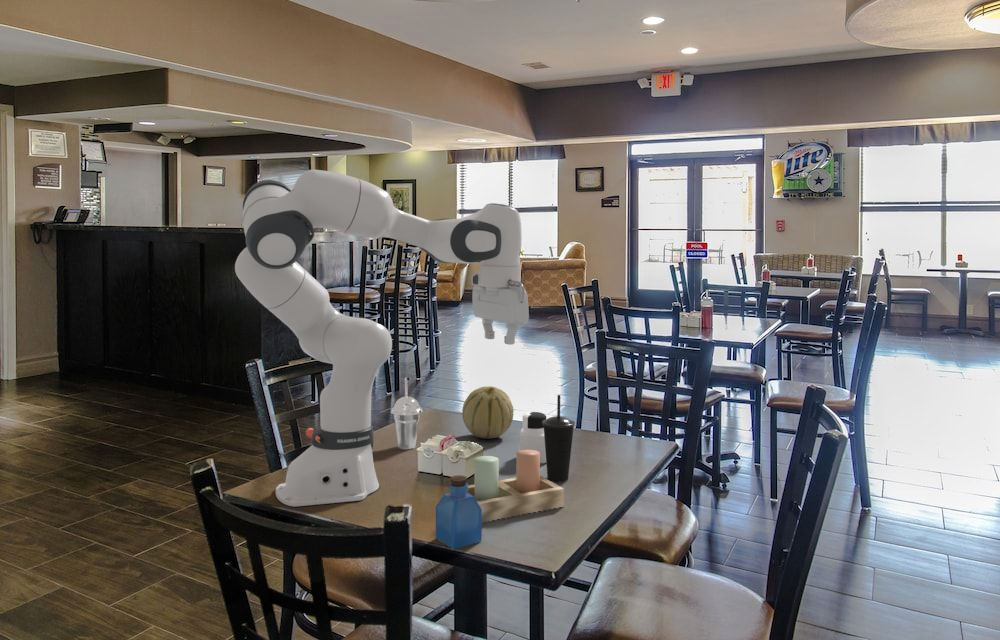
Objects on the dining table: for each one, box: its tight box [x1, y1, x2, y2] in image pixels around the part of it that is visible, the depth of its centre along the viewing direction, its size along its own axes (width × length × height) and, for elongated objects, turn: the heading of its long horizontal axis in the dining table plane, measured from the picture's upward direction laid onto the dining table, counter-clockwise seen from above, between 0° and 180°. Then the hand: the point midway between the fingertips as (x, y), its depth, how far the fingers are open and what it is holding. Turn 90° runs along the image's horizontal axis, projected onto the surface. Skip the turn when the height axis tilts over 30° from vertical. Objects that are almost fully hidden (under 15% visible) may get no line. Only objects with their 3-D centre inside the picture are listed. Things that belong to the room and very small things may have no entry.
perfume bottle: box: [435, 475, 483, 550], centre depth 141 cm, size 6×6×12 cm
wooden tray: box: [466, 475, 565, 524], centre depth 159 cm, size 21×11×4 cm, turn 118°
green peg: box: [474, 455, 500, 501], centre depth 156 cm, size 5×5×11 cm
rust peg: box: [515, 450, 541, 493], centre depth 161 cm, size 5×5×11 cm
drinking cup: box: [542, 394, 576, 483], centre depth 177 cm, size 8×8×20 cm
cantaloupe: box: [461, 385, 515, 440], centre depth 213 cm, size 15×15×15 cm
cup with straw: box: [390, 376, 424, 450], centre depth 202 cm, size 8×9×20 cm
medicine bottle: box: [518, 411, 547, 464], centre depth 193 cm, size 7×7×12 cm
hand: (499, 341), depth 167 cm, fingers open, 8 cm apart
